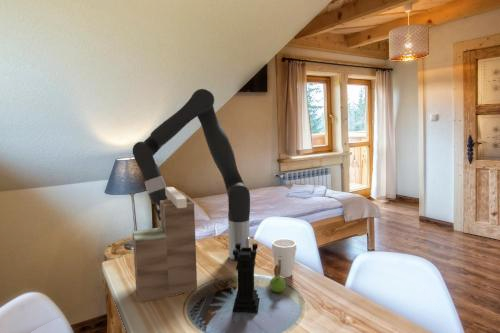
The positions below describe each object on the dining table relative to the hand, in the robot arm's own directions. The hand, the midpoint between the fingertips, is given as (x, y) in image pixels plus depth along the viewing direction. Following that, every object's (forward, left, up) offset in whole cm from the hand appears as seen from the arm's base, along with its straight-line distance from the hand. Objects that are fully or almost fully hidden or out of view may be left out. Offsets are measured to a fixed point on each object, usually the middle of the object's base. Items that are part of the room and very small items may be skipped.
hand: (171, 227), depth 139 cm
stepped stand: (-3, +16, -18) cm, 24 cm away
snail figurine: (-43, +13, -18) cm, 49 cm away
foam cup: (-45, 0, -18) cm, 49 cm away
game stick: (-6, +12, +14) cm, 20 cm away
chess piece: (-33, +24, -18) cm, 45 cm away
